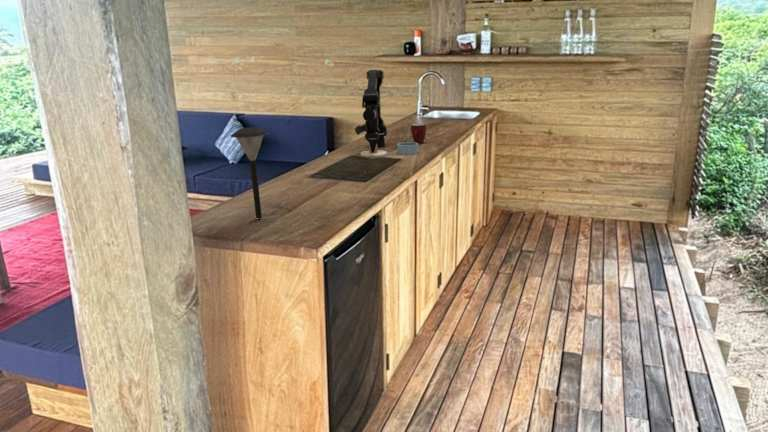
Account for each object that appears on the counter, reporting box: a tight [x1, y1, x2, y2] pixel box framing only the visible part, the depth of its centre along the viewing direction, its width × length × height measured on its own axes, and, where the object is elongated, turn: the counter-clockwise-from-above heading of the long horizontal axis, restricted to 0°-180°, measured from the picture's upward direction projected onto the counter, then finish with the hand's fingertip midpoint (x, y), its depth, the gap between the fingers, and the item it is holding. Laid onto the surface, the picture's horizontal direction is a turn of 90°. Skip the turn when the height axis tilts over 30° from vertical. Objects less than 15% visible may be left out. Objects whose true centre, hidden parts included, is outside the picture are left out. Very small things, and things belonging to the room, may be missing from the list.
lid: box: [359, 144, 388, 157], centre depth 295 cm, size 13×13×5 cm
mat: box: [352, 151, 397, 160], centre depth 296 cm, size 16×16×1 cm
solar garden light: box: [230, 126, 270, 219], centre depth 194 cm, size 12×12×30 cm
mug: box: [410, 123, 427, 145], centre depth 320 cm, size 11×8×10 cm
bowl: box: [396, 141, 420, 156], centre depth 294 cm, size 10×10×5 cm
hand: (373, 150), depth 295 cm, fingers open, 9 cm apart
